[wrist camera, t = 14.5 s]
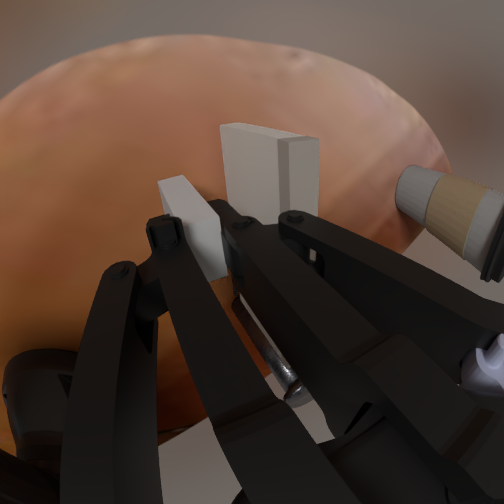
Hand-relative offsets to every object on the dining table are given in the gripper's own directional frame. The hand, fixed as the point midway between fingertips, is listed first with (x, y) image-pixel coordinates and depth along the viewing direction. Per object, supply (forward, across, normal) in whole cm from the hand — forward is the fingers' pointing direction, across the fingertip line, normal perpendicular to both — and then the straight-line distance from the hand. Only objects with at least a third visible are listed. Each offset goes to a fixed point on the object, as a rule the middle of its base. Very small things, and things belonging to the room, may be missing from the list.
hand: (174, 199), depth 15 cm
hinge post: (+2, +4, -12) cm, 13 cm away
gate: (+1, +4, -3) cm, 5 cm away
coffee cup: (+2, +26, -5) cm, 27 cm away
